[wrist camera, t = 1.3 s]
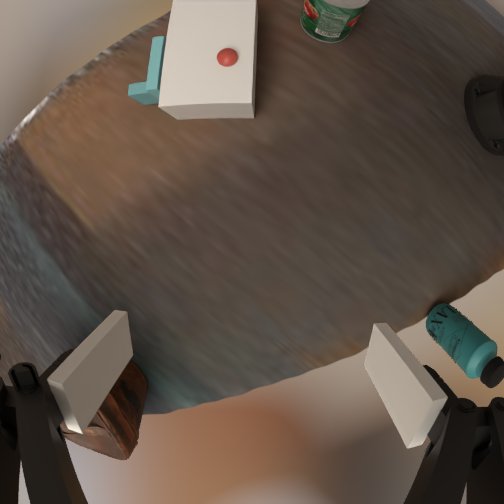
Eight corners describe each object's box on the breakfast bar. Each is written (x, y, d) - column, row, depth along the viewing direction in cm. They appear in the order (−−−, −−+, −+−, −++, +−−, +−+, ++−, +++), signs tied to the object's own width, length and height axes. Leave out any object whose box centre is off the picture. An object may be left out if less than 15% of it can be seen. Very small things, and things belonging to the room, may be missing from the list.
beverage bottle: (449, 293, 42) (519, 346, 23) (448, 325, 43) (509, 383, 24) (419, 305, 43) (486, 368, 23) (420, 337, 44) (477, 404, 25)
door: (179, 56, 35) (163, 35, 28) (174, 103, 37) (156, 88, 30) (151, 60, 35) (132, 41, 28) (146, 106, 37) (124, 93, 30)
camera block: (258, 9, 33) (256, -22, 24) (254, 118, 37) (251, 101, 29) (187, 12, 33) (173, -15, 25) (176, 119, 38) (155, 105, 29)
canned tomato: (292, 9, 32) (298, -31, 22) (337, 3, 32) (353, -34, 21) (311, 47, 34) (324, 10, 23) (357, 40, 33) (381, 7, 23)
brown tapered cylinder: (65, 365, 49) (22, 415, 32) (107, 317, 46) (52, 374, 28) (126, 419, 52) (97, 477, 35) (179, 384, 48) (153, 456, 31)
